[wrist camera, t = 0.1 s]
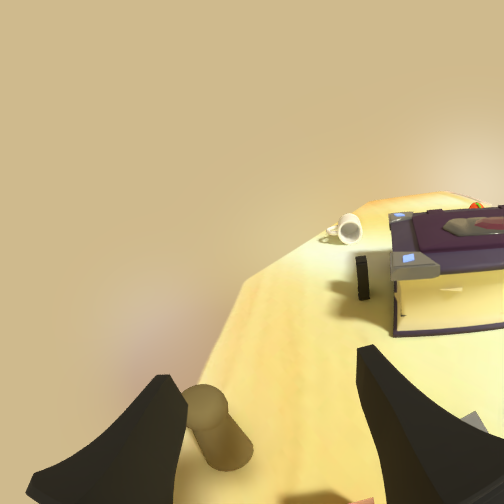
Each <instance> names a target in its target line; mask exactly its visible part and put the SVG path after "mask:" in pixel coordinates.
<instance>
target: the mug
mask: <svg viewBox="0 0 504 504" xmlns="http://www.w3.org/2000/svg"><path fill="white" fill-rule="evenodd" d="M332 230H337V231H332ZM326 232H327V234H328V235H338V237H339V239H340V240H341V241H342V242H343V243H345V244H347V245H353V244H356V243H357V242H359V241H360V239H361V237H362V227H361V223H360V220H359V218H358V217H357V216H356V215H354V214H350V213H348V214H344V215H343V216H342V217H341V218H340V219H339V222H338V225H336V226H332V227H329V228H327V230H326Z"/></svg>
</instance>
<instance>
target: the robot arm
mask: <svg viewBox="0 0 504 504" xmlns="http://www.w3.org/2000/svg"><path fill="white" fill-rule="evenodd" d="M356 385H357V390H358V394H359V398H360V402H361V406H362V409H363V412H364V414H365V417H366V420H367V423H368V426H369V428H370V431H371V434H372V437H373V440H374V443H375V446H376V449H377V452H378V455H379V459H380V464H381V469H382V474H383V480H384V486H385V493H386V501H387V504H504V439H502V438H500V437H497V436H494V435H491V434H489V433H487V432H484V431H482V430H480V429H478V428H476V427H474V426H472V425H470V424H468V423H466V422H464V421H462V420H460V419H459V418H457V417H455V416H454V415H452V414H451V413H449V412H447V411H446V410H445V409H443V408H442V407H440V406H439V405H437V404H436V403H435V402H433V401H432V400H431V399H429V398H428V397H427V396H426V395H425V394H423V393H422V392H421V391H420V390H419V389H417V388H416V387H415V386H414V385H413V384H412V383H411V382H410V381H409V380H407V379H406V378H405V377H404V376H403V375H402V374H401V373H400V372H399V371H398V370H397V369H396V368H395V367H394V366H393V365H392V364H391V363H390V362H389V361H388V360H387V359H386V357H385V356H384V355H383V354H382V353H381V352H380V351H379V350H378V349H377V347H376V346H374V345H373V344H372V345H368V346H365V347H361V348H357V370H356ZM187 415H188V403H187V402H186V400H185V399H184V397H183V396H182V394H181V392H180V391H179V389H178V388H177V386H176V384H175V383H174V381H173V379H172V378H171V376H170V375H156V376H155V377H154V378H153V379H152V381H151V382H150V383H149V384H148V385H147V386H146V388H145V389H144V390H143V391H142V392H141V393H140V394H139V396H138V397H137V398H136V399H135V400H134V401H133V402H132V403H131V405H130V406H129V407H128V408H127V409H126V410H125V411H124V413H122V415H121V416H119V418H118V419H117V420H116V421H115V422H114V423H113V424H112V425H111V426H110V427H109V428H108V429H107V430H105V432H103V433H102V434H101V435H100V436H99V437H97V438H96V439H95V440H94V441H93V442H91V443H90V444H89V445H87V446H86V447H84V448H83V449H82V450H80V451H79V452H77V453H76V454H74V455H73V456H71V457H69V458H67V459H66V460H64V461H62V462H60V463H58V464H56V465H54V466H51V467H49V468H46V469H44V470H41V471H39V472H36V473H34V474H33V476H32V478H31V481H30V483H29V485H28V488H27V490H26V494H27V495H28V496H29V497H30V498H32V499H33V500H35V501H36V502H38V503H39V504H173V490H174V479H175V472H176V467H177V463H178V459H179V455H180V451H181V447H182V442H183V438H184V434H185V430H186V424H187Z"/></svg>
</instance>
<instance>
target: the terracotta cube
mask: <svg viewBox="0 0 504 504" xmlns="http://www.w3.org/2000/svg"><path fill="white" fill-rule="evenodd" d="M349 504H374V499H373V497H372V498H369V499H365V500H361V501H357V502H353V503H349Z"/></svg>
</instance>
